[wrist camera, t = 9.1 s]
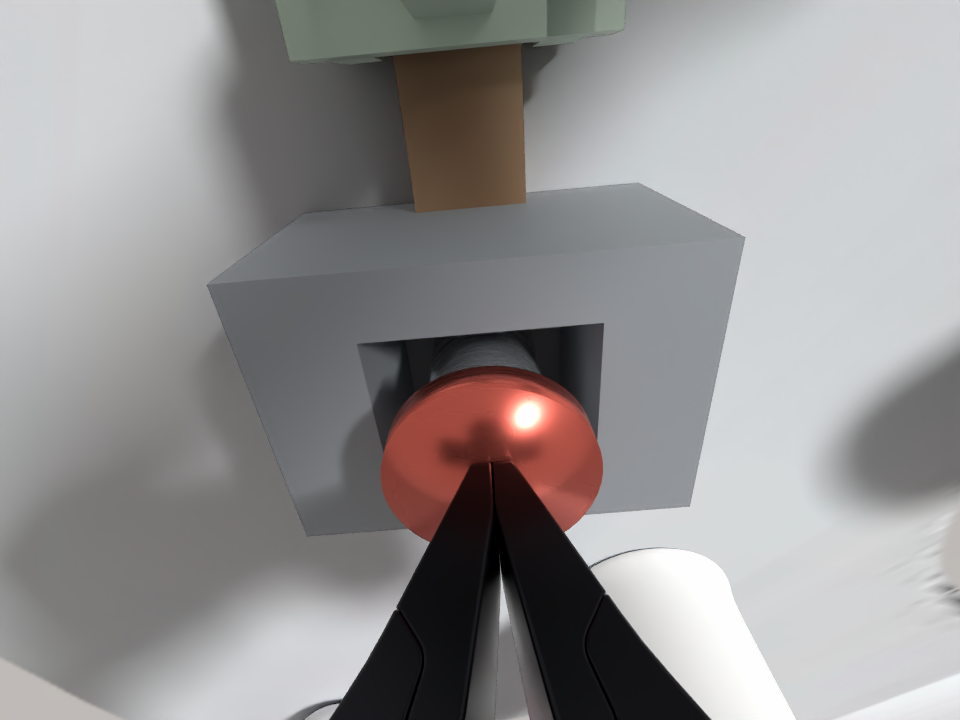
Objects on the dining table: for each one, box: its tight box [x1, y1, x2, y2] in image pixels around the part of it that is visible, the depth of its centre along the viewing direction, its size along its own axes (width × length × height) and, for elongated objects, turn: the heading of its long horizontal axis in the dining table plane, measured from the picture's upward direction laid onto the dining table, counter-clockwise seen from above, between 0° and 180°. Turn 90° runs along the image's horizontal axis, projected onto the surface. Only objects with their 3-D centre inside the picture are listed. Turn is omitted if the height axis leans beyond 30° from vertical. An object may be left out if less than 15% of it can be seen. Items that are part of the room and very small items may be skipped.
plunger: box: [380, 329, 603, 542], centre depth 12 cm, size 4×4×6 cm
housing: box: [207, 183, 745, 536], centre depth 13 cm, size 10×7×6 cm
